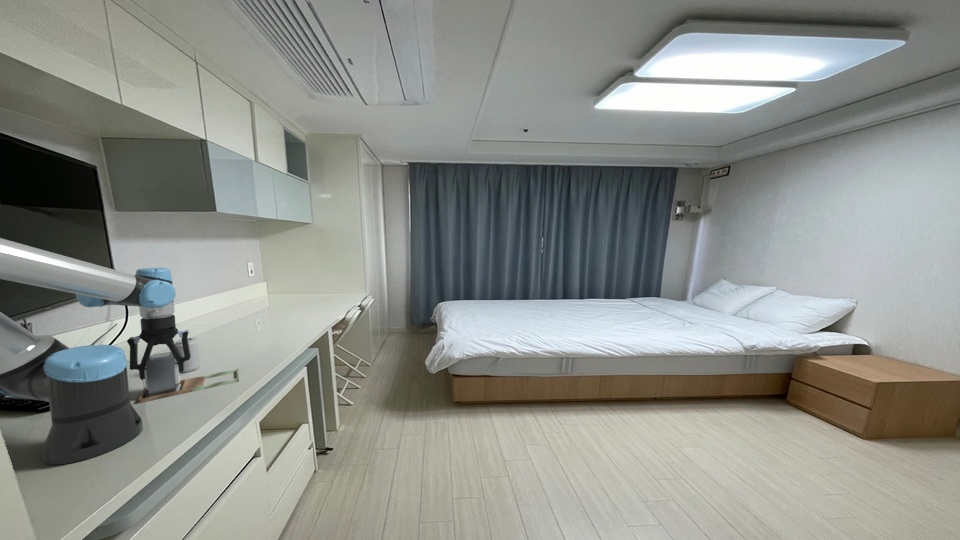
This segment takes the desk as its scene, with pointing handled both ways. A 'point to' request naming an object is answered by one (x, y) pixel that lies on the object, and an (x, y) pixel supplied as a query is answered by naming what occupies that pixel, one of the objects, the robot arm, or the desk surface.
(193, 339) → the beverage can
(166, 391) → the block
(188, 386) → the rail
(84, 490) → the desk surface
